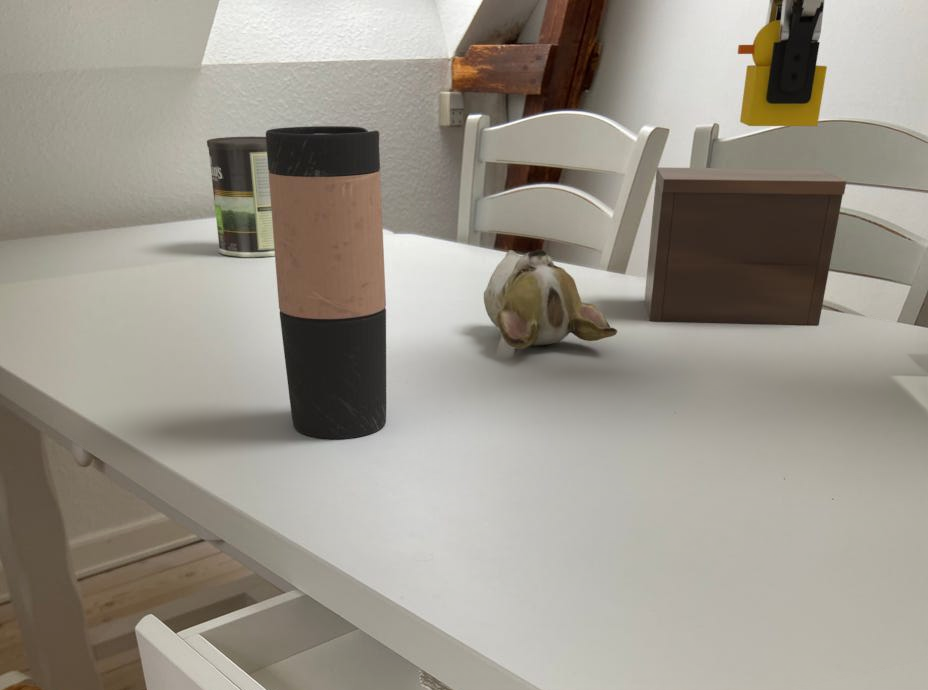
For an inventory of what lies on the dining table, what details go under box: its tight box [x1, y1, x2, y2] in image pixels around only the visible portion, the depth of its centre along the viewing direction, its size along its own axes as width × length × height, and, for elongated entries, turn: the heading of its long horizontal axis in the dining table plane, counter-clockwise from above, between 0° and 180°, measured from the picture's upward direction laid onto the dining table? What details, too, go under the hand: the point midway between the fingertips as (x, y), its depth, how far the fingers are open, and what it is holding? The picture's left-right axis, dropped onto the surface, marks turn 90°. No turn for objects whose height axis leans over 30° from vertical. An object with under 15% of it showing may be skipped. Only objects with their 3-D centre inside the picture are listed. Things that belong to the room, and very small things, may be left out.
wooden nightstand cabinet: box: [644, 167, 847, 326], centre depth 104 cm, size 11×17×14 cm, turn 83°
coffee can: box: [206, 136, 275, 259], centre depth 137 cm, size 10×10×14 cm
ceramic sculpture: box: [483, 249, 618, 350], centre depth 95 cm, size 11×9×15 cm
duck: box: [737, 20, 828, 127], centre depth 77 cm, size 6×4×7 cm
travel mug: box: [265, 125, 387, 440], centre depth 71 cm, size 8×8×20 cm
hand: (781, 98), depth 78 cm, fingers closed on duck, 4 cm apart
